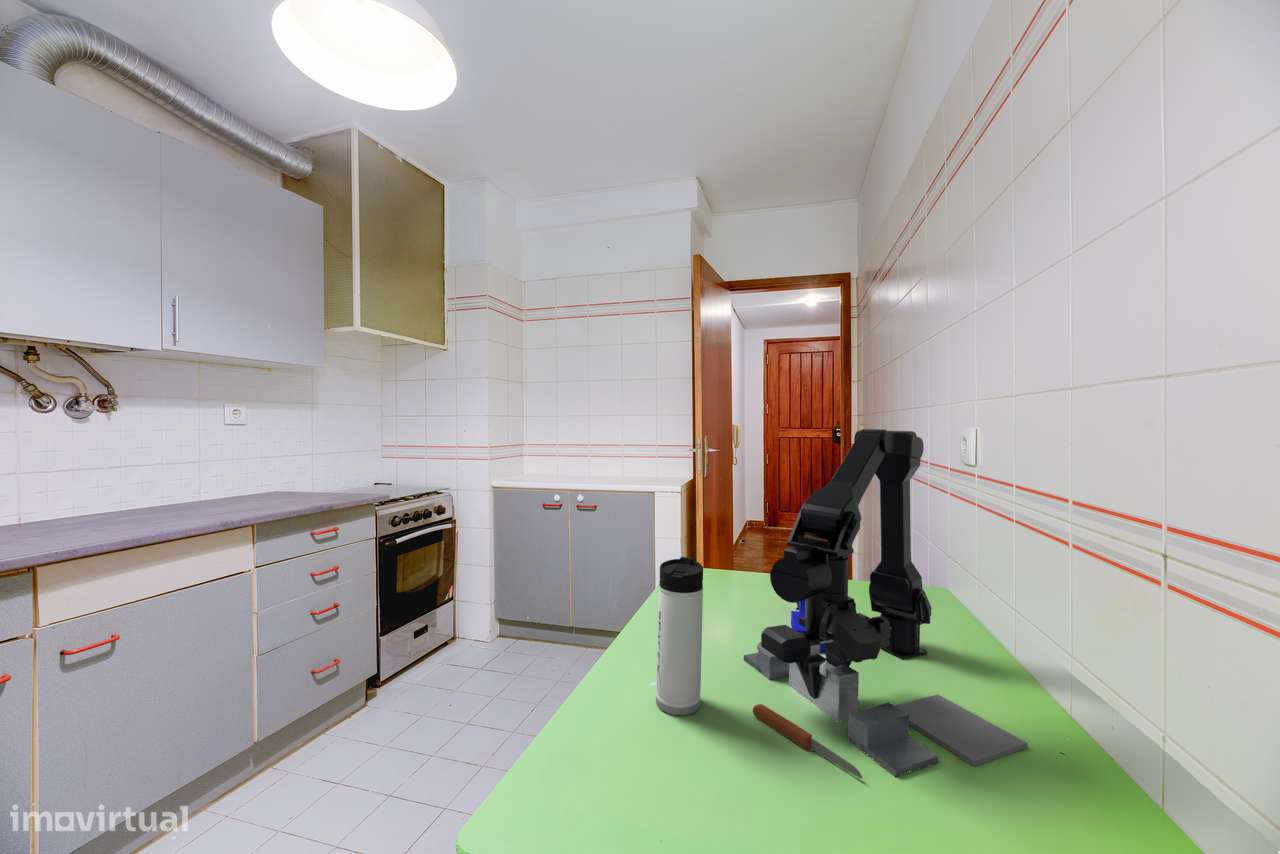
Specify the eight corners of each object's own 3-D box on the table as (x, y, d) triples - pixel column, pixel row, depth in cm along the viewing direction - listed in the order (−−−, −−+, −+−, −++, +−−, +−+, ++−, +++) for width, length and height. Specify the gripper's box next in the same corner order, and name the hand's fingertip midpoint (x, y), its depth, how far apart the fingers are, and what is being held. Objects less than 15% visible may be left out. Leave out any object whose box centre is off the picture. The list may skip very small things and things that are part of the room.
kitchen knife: (751, 717, 67) (751, 703, 67) (758, 714, 68) (758, 700, 68) (859, 788, 54) (859, 770, 54) (866, 783, 55) (866, 766, 55)
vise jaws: (777, 653, 86) (777, 633, 86) (938, 762, 59) (938, 733, 59) (743, 659, 84) (744, 639, 84) (895, 777, 56) (896, 746, 56)
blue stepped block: (790, 625, 100) (791, 596, 100) (814, 627, 99) (814, 597, 99) (799, 652, 88) (800, 618, 88) (825, 654, 87) (826, 620, 87)
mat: (937, 698, 73) (937, 694, 73) (1027, 747, 62) (1027, 742, 62) (888, 711, 69) (888, 707, 69) (974, 766, 58) (974, 761, 58)
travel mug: (704, 695, 72) (708, 559, 72) (694, 720, 66) (698, 571, 66) (663, 687, 74) (667, 554, 74) (650, 710, 68) (653, 565, 68)
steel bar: (806, 682, 77) (807, 642, 77) (857, 717, 68) (858, 672, 68) (788, 686, 76) (789, 645, 76) (838, 722, 66) (839, 676, 66)
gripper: (815, 615, 60) (812, 742, 60) (922, 598, 67) (920, 712, 67) (760, 587, 71) (757, 696, 70) (858, 575, 78) (855, 674, 78)
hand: (823, 695), depth 71 cm, fingers open, 3 cm apart
